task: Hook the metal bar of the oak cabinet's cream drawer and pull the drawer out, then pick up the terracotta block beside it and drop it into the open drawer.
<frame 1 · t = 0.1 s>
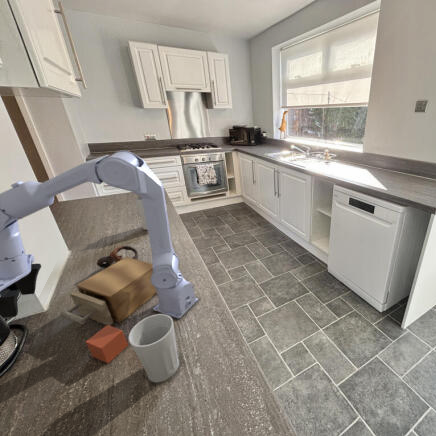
hand: (20, 304, 56), 10 cm above the worktop, tool pointing down, fingers open, 7 cm apart
drawer: (107, 297, 66), point 5 cm above the worktop, slide at 1.0 cm
cabinet: (127, 298, 72), on the worktop
block: (110, 350, 57), on the worktop
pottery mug: (120, 267, 87), on the worktop
cup: (163, 368, 53), on the worktop
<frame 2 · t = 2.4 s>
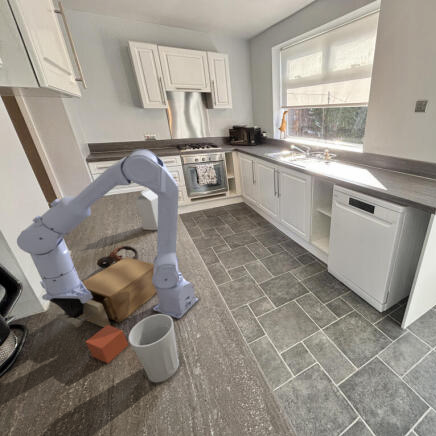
hand: (77, 315, 60), 5 cm above the worktop, tool pointing down, fingers closed, pressing on drawer
drawer: (104, 299, 66), point 5 cm above the worktop, slide at 1.8 cm, touching gripper
everything else where it was.
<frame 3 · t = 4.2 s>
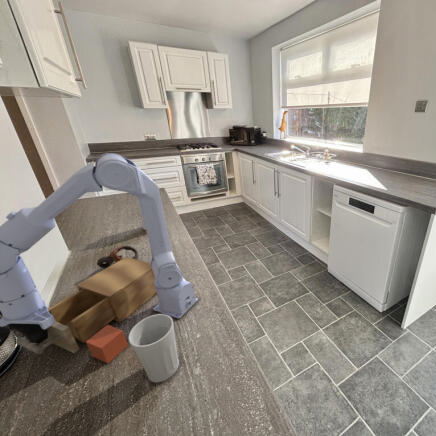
hand: (40, 340, 54), 5 cm above the worktop, tool pointing down, fingers closed, pressing on drawer
drawer: (74, 320, 59), point 5 cm above the worktop, slide at 9.2 cm, touching gripper
everything else where it was.
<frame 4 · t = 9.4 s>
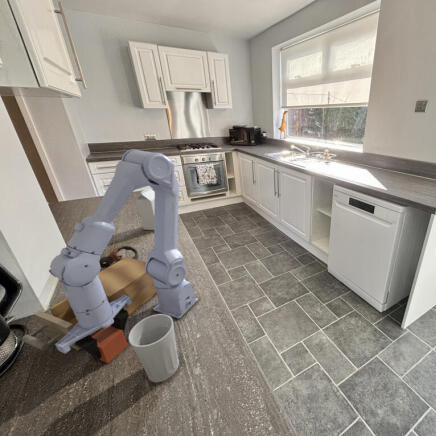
hand: (109, 346, 56), 1 cm above the worktop, tool pointing down, fingers closed on block, 5 cm apart
drawer: (77, 317, 60), point 5 cm above the worktop, slide at 8.4 cm
block: (111, 350, 57), on the worktop, touching gripper
everything else where it was.
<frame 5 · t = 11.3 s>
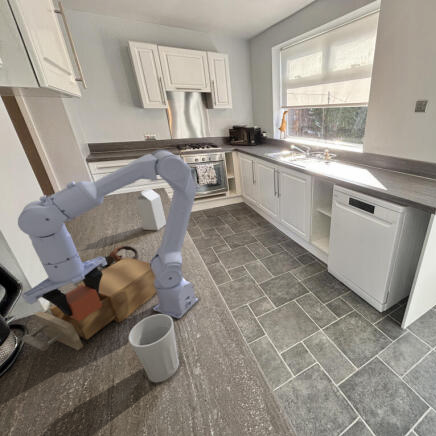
hand: (82, 306, 56), 10 cm above the worktop, tool pointing down, fingers closed on block, 5 cm apart
block: (84, 310, 56), point 9 cm above the worktop, touching gripper
everything else where it was.
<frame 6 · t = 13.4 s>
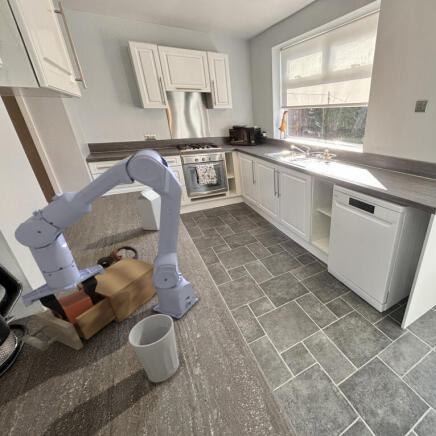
hand: (78, 309, 60), 6 cm above the worktop, tool pointing down, fingers closed on block, 5 cm apart
block: (80, 314, 61), point 5 cm above the worktop, touching gripper
everything else where it was.
when the fingers open (6 cm above the worktop, at t = 13.6 s): block drops 3 cm, resting on drawer.
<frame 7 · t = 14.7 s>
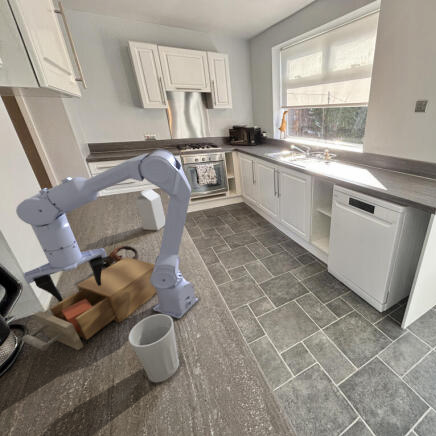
hand: (80, 291, 60), 10 cm above the worktop, tool pointing down, fingers open, 7 cm apart
drawer: (77, 317, 60), point 5 cm above the worktop, slide at 8.4 cm, touching block
block: (84, 323, 62), point 2 cm above the worktop, touching drawer
everything else where it was.
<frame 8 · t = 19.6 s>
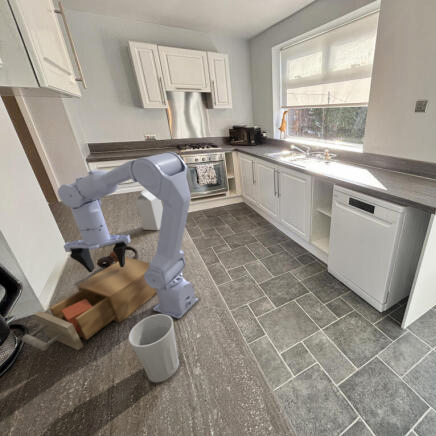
hand: (107, 267, 69), 10 cm above the worktop, tool pointing down, fingers open, 7 cm apart
nothing on the worktop moved.
at the end: drawer slide at 8.4 cm; block inside the target area in the cabinet (7.1 cm from its centre), point 2.0 cm above the cabinet's base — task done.
